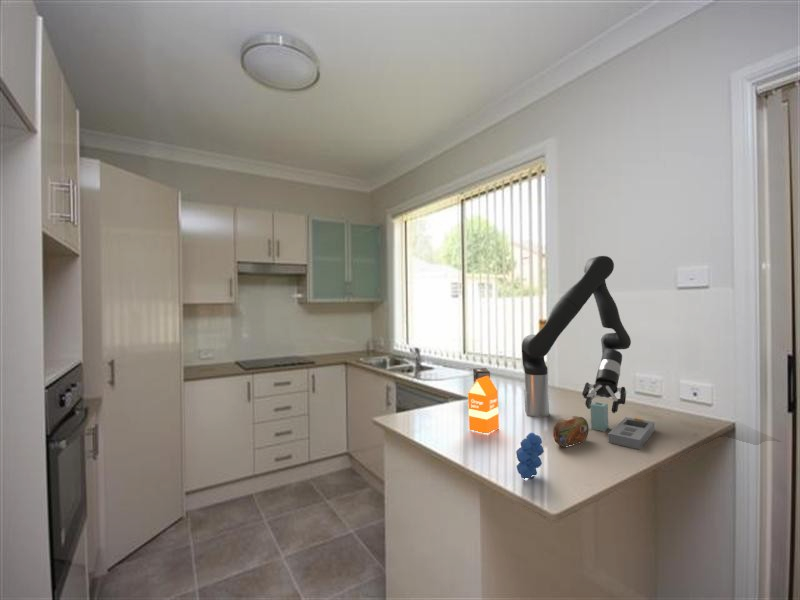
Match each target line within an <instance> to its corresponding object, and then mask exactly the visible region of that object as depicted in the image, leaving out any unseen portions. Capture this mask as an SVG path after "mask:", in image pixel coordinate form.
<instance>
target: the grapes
mask: <svg viewBox="0 0 800 600" xmlns="http://www.w3.org/2000/svg"><path fill="white" fill-rule="evenodd" d="M542 443H543V441H542V438H541V437H540V435H538V434H535V433H533V432H529V433H528V434H527V435H526V437H525V438H524V439H522V440H521V442H520V446H521V447H519V448H518V449H517V450H516V451H515V454H516V459H517V460H518V464H517V465H516V469H517V472H518V474H519V475H520V477H521V479H522V478H524V479H525V478H530V479H532V478H531V476H532V475H536V476H537V474H538V471H537V470H538V469H539V468H540V467H541V465H543V462H542V459H541V458H540V457H541V455H543V453H544V452H545V451H544V447H543V446H542Z"/></svg>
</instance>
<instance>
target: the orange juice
mask: <svg viewBox="0 0 800 600" xmlns="http://www.w3.org/2000/svg"><path fill="white" fill-rule="evenodd" d="M498 395H499V393H498V389H497V387H496V386H495V384H494V383H493V381H492V380H491V377H490V378H489V376H485V377H482V378H479V379H476V382H475V383H474V382H473V385H472V386H471V388H470V390H469V391H468V393H467V398H468V399H467V400H468V402H467V403H468V422H469V423H468V425H469V429H470V430H474V431H478V432H482V433H489V432H491V431H493V430H496V429H498V428H499V427H500V422H499V397H498ZM499 429H500V428H499ZM470 430H469V431H470Z"/></svg>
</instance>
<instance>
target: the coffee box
mask: <svg viewBox="0 0 800 600" xmlns="http://www.w3.org/2000/svg"><path fill="white" fill-rule="evenodd" d="M472 369H473V370H472V371H473V384H474V383H475V382H476V379H479V378H482V377H485V376H489V378H490V379H491V372H490V370H489V369H488V368H486V367H480V368H479V367H476V368H472Z"/></svg>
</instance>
